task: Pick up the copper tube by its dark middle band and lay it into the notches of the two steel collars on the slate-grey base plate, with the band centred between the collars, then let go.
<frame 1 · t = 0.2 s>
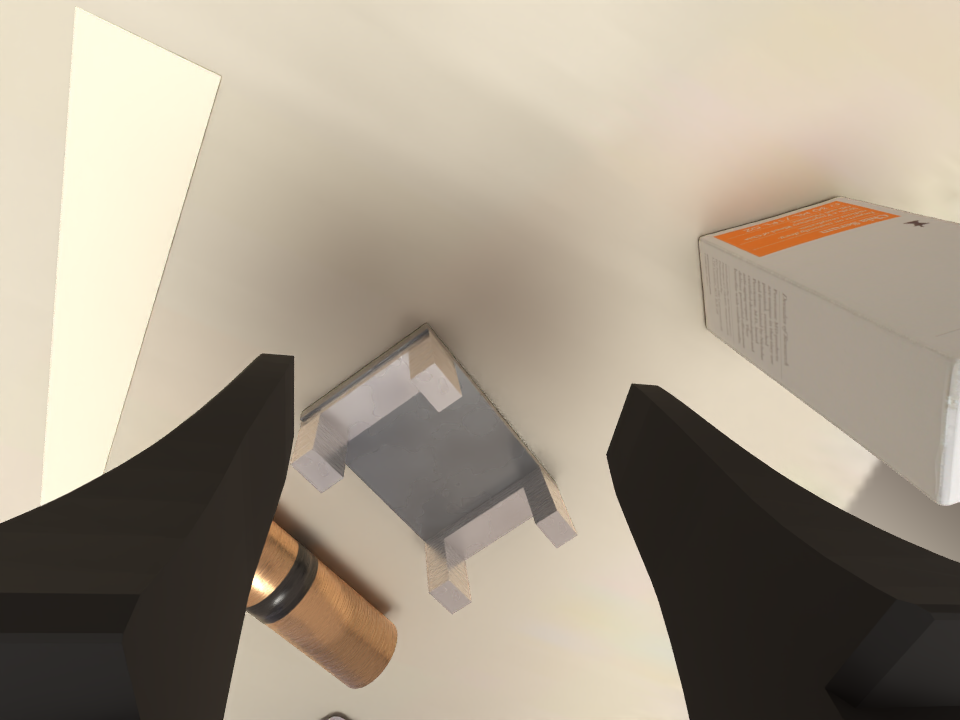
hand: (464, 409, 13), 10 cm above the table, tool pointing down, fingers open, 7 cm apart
cradle: (437, 449, 25), on the table
tube: (283, 553, 26), on the table
skincare box: (764, 262, 24), on the table
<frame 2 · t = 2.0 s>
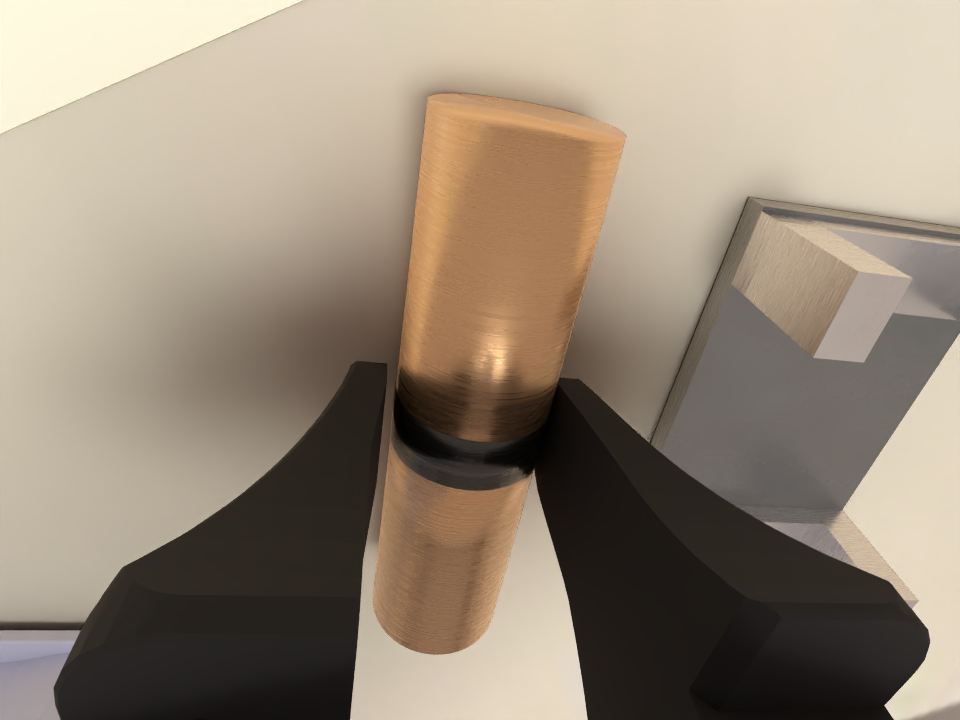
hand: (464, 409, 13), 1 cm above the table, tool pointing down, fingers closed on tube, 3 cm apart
cradle: (782, 399, 15), on the table
tube: (457, 372, 14), on the table, touching gripper
when the fingers open (4 cm above the table, at t = 5.2 s): tube drops 1 cm, resting on cradle.
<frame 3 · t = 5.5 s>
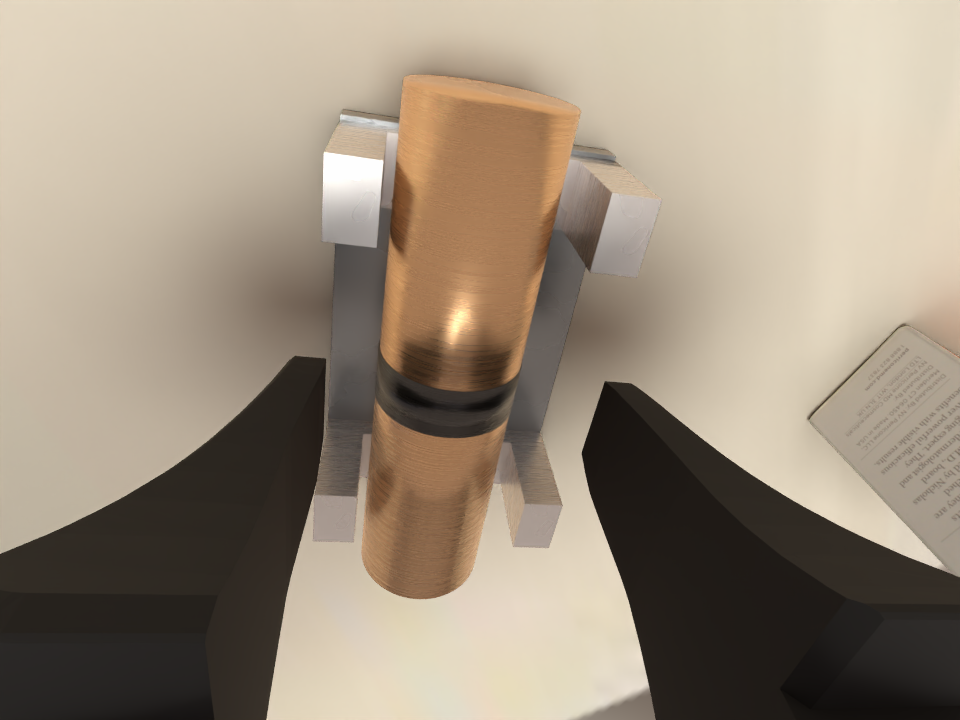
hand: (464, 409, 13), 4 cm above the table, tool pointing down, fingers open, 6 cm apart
cradle: (451, 318, 16), on the table
tube: (454, 339, 15), point 1 cm above the table, tilted 10°, touching cradle
skincare box: (903, 399, 20), on the table
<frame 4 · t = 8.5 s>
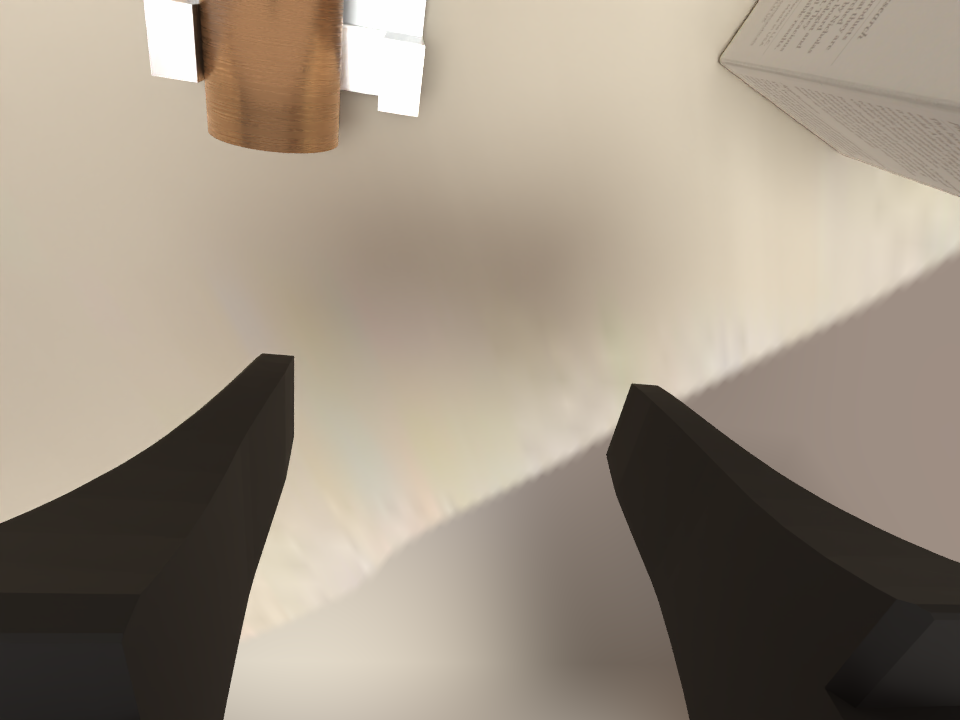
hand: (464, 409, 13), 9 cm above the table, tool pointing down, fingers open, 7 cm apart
skincare box: (821, 45, 19), on the table
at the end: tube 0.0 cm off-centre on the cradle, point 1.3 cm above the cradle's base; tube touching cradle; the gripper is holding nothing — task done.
